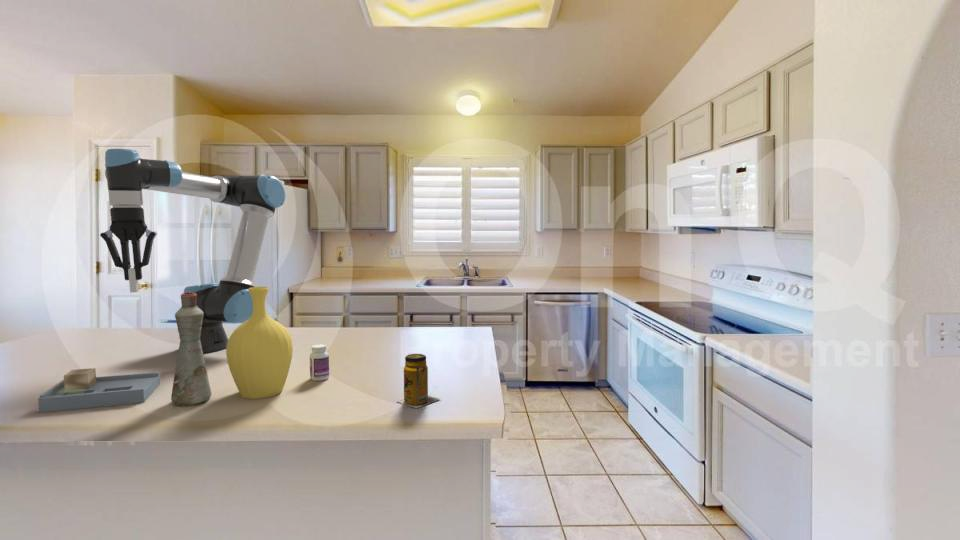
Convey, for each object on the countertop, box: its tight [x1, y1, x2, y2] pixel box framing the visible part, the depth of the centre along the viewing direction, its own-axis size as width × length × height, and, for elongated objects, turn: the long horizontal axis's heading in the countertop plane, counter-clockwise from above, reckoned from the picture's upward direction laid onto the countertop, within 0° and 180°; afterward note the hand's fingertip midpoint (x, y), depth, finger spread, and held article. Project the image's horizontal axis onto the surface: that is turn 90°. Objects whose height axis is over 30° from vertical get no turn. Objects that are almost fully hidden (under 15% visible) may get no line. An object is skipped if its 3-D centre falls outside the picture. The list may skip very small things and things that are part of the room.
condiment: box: [397, 353, 440, 409], centre depth 125 cm, size 7×8×12 cm
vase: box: [225, 286, 294, 400], centre depth 130 cm, size 16×16×28 cm
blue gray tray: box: [37, 371, 161, 414], centre depth 126 cm, size 21×15×4 cm
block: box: [63, 367, 97, 391], centre depth 126 cm, size 5×5×4 cm
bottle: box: [170, 291, 212, 407], centre depth 122 cm, size 9×9×28 cm
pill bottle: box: [309, 344, 330, 382], centre depth 143 cm, size 5×5×10 cm
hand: (134, 291), depth 138 cm, fingers closed
